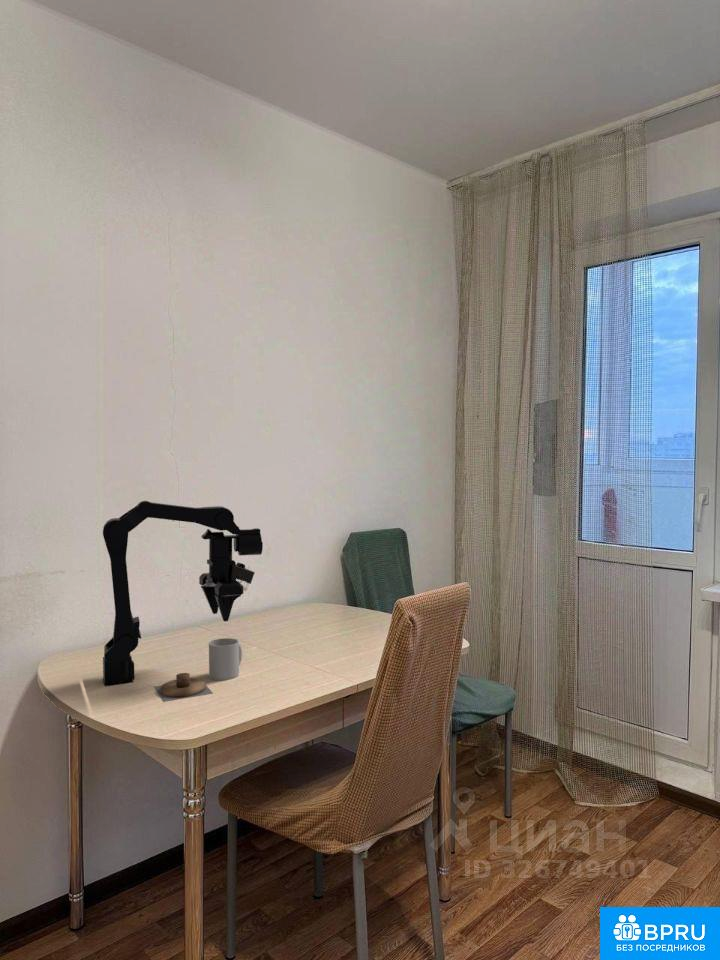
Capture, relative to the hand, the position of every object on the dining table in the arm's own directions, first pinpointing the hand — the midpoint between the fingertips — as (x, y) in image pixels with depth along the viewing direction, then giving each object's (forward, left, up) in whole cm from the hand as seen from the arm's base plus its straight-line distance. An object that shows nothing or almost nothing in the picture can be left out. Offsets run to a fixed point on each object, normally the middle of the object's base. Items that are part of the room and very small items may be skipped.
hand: (220, 617), depth 171 cm
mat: (-12, -11, -14) cm, 22 cm away
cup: (0, -5, -14) cm, 15 cm away
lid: (-12, -11, -13) cm, 21 cm away
